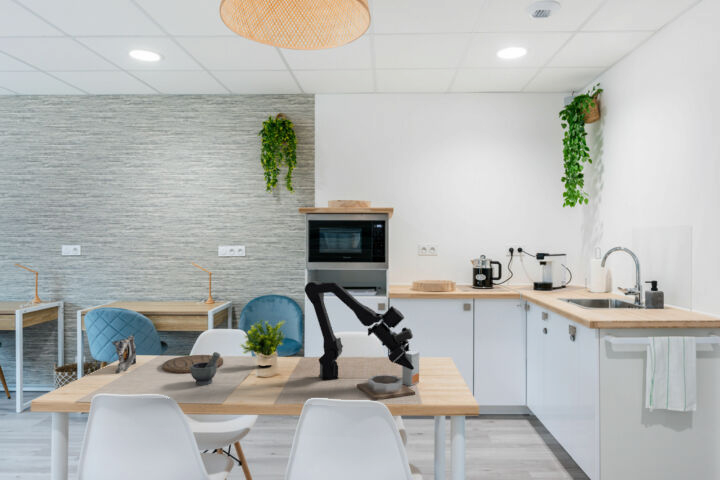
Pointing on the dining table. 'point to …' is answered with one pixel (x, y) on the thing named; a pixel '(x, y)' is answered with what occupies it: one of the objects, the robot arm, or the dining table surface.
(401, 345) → the robot arm
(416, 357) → the skincare box
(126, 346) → the grey piece
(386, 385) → the steel ring
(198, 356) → the trivet
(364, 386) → the walnut board
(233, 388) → the dining table surface
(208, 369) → the mortar and pestle
